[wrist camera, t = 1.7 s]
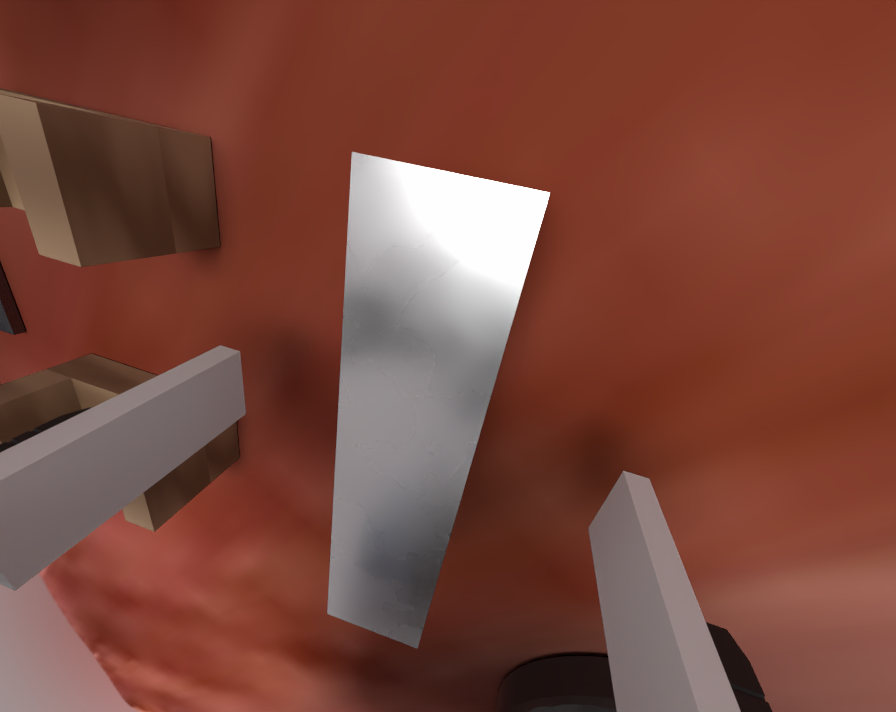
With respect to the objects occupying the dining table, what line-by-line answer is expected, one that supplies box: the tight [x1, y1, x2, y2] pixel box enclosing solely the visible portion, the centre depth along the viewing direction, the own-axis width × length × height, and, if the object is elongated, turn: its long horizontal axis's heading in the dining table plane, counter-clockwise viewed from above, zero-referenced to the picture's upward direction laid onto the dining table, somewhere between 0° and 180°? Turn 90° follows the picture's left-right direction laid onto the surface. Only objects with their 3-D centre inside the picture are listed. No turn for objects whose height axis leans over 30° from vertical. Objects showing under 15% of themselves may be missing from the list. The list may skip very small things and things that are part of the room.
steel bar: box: [327, 152, 550, 649], centre depth 13 cm, size 17×4×6 cm, turn 168°
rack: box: [0, 88, 240, 532], centre depth 15 cm, size 16×9×5 cm, turn 167°
